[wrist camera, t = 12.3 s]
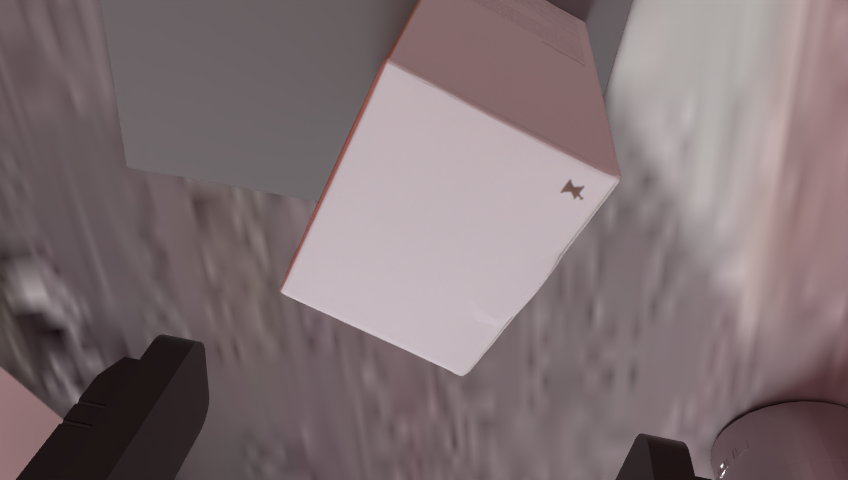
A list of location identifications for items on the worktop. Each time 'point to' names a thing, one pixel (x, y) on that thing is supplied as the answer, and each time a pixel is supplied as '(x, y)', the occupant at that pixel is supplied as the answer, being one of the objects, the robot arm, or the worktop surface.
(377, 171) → the small box
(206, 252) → the worktop surface
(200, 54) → the mat
